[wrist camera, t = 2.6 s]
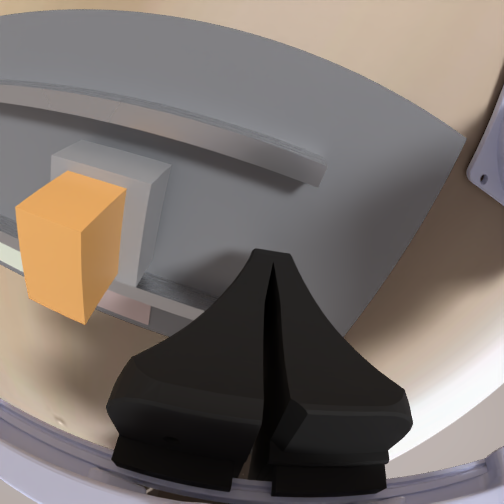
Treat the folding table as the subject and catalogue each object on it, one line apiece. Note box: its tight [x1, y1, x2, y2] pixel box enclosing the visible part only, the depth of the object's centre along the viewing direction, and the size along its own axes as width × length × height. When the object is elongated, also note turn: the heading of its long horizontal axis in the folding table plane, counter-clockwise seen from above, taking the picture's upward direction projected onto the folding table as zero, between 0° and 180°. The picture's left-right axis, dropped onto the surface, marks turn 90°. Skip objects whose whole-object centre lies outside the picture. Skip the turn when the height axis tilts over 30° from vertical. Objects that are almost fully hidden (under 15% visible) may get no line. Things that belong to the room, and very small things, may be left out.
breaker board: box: [0, 9, 467, 337], centre depth 12 cm, size 22×15×3 cm
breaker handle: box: [15, 140, 171, 325], centre depth 10 cm, size 4×4×5 cm
